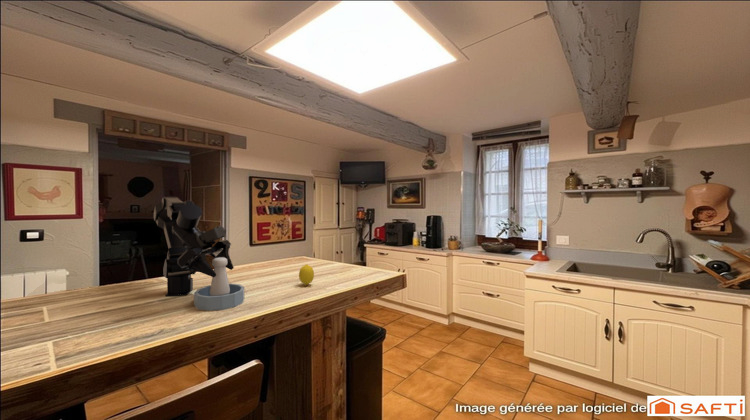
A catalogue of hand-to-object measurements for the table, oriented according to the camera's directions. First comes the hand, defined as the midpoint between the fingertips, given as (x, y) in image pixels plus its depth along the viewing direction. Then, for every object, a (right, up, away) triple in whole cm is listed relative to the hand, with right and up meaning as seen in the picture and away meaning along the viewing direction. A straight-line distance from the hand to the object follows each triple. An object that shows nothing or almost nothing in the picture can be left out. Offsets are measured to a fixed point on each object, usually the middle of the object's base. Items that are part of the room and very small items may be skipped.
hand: (224, 272), depth 98 cm
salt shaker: (-2, -9, +1) cm, 9 cm away
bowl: (-2, -10, +1) cm, 10 cm away
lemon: (+21, -9, +21) cm, 31 cm away
